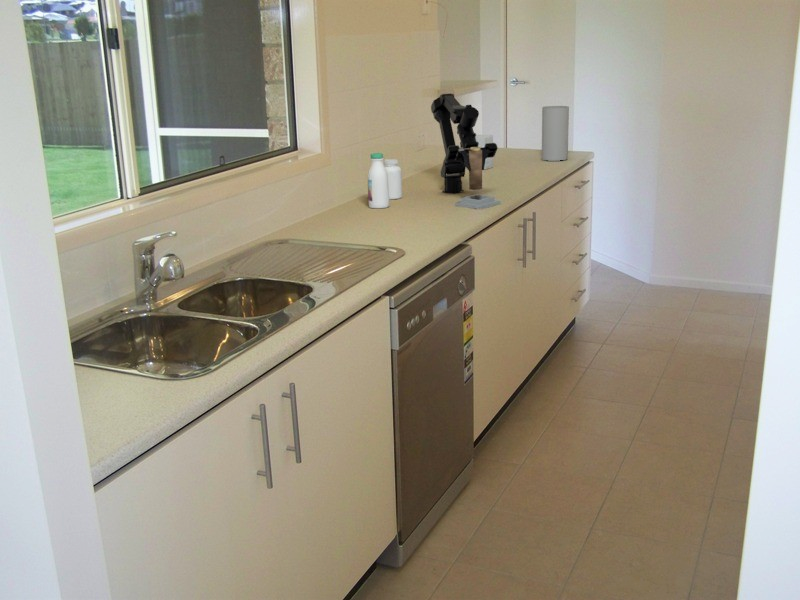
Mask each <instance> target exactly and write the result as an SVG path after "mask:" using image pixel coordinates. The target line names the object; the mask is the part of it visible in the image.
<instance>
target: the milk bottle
mask: <svg viewBox="0 0 800 600" xmlns="http://www.w3.org/2000/svg"><path fill="white" fill-rule="evenodd" d="M370 160H371V163H370V167H369V170H368V173H367V193H368V195H367V197H368V198H367V199H368V207H369V208H370V209H386V208H388V207H389V206H390V199H389V186H388V174H387V171H386V169H385V165H384V162H383V160H384V154H383V153H382V152H376V153H375V152H374V153H370Z"/></svg>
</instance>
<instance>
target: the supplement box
mask: <svg viewBox="0 0 800 600" xmlns="http://www.w3.org/2000/svg"><path fill="white" fill-rule="evenodd" d="M475 138H476V141H477V142H478V143H479V145H478V147H480V148H484V147H485V144H486V143H494V135H493V134H476V137H475ZM493 167H494V157H490V158H486V159H485V167H484V170H488V169H491V168H493ZM484 170H483V171H484Z"/></svg>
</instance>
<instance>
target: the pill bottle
mask: <svg viewBox="0 0 800 600" xmlns="http://www.w3.org/2000/svg"><path fill="white" fill-rule="evenodd" d="M383 160H384V162H383V164H384V167H385V169H386V171H387V174H388V186H389V200H398V199H402V198H403V180H402V179H403V177H402V174H403V173H402V168H401V166H399V160H398V159H396V158H388V159H387V158H386V159H383Z"/></svg>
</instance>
